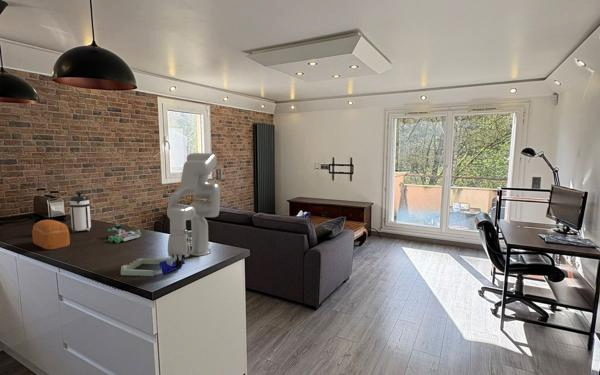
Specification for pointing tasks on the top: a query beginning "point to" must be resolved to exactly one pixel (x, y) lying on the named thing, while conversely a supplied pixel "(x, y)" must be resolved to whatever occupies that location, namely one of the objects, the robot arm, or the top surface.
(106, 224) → the top surface
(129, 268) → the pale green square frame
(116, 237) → the robot kit
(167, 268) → the cable clip
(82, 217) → the coffee press
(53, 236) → the bread
